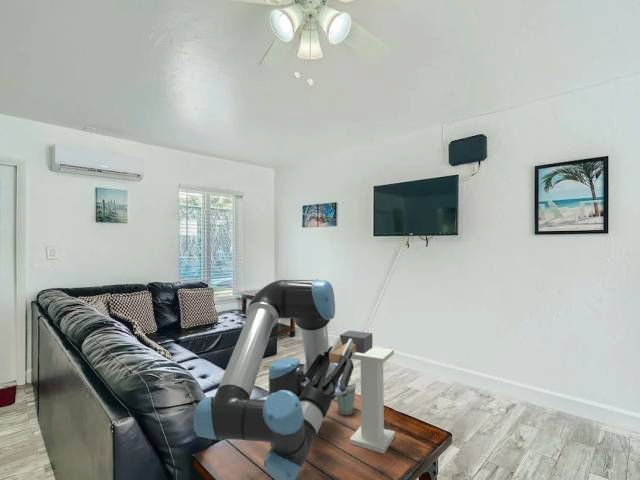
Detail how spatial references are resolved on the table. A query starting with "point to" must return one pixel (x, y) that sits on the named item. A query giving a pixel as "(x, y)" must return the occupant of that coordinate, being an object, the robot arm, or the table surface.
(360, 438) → the tall stand
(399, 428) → the table surface
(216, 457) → the table surface
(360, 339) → the hammer
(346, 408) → the coffee cup
